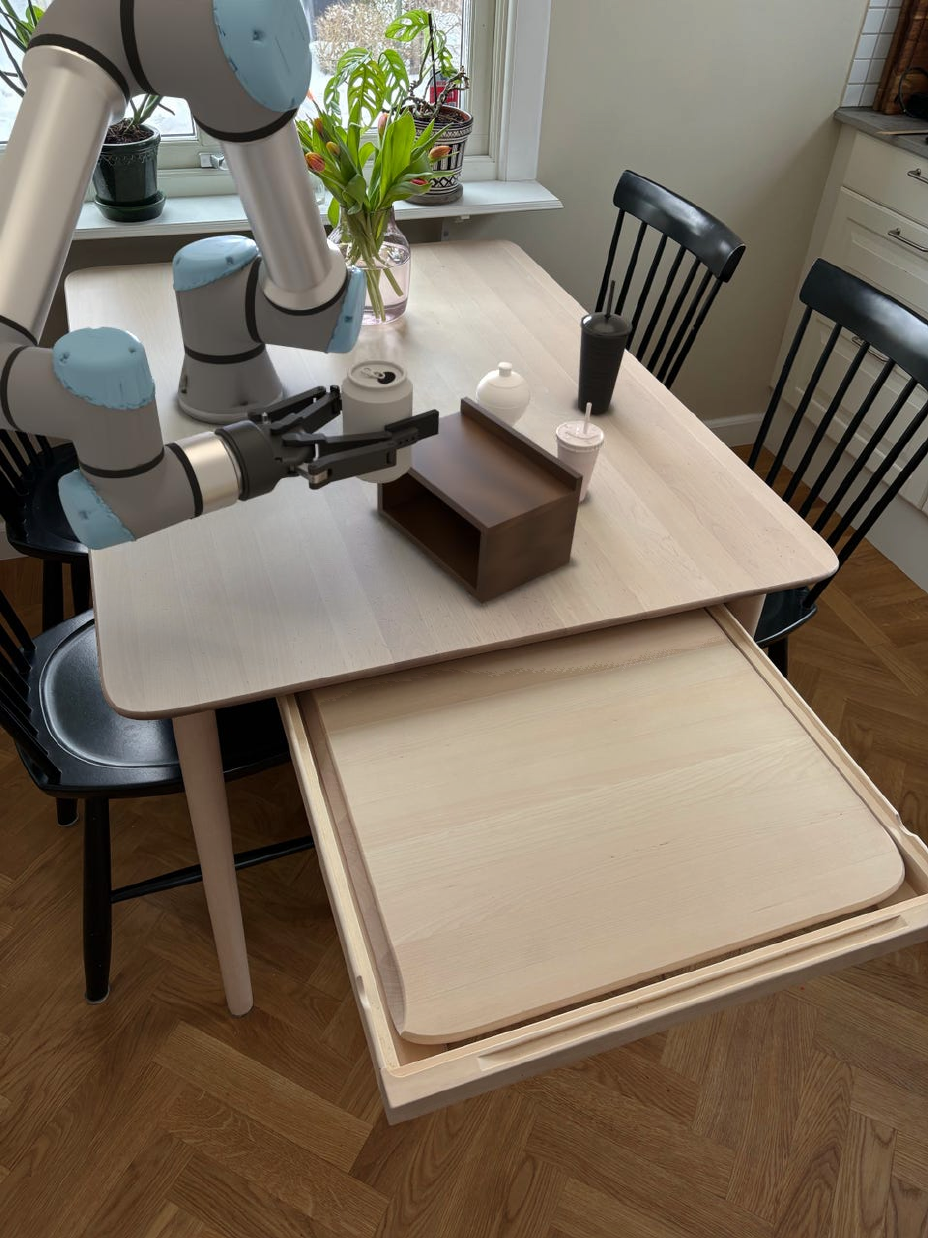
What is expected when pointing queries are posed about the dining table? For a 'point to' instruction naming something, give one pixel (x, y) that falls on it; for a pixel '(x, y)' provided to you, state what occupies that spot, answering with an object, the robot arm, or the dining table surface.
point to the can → (377, 407)
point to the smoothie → (580, 447)
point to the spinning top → (504, 394)
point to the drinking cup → (601, 356)
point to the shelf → (485, 503)
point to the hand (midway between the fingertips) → (414, 405)
